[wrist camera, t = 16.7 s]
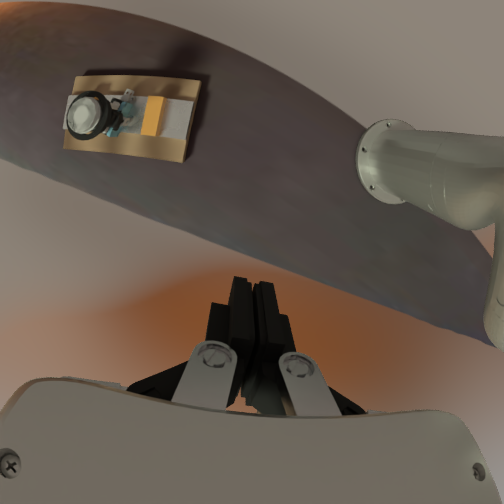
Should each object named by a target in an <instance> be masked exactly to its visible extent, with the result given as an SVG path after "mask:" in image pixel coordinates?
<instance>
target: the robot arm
mask: <svg viewBox="0 0 504 504" xmlns="http://www.w3.org/2000/svg"><path fill="white" fill-rule="evenodd" d="M386 124H387V126H386ZM362 147H363V149H364V150H363V151H362ZM356 168H357V173H358V176H359V178H360V181H361V183H362V184H363V186H364V188H365V189H366V190H367V191H368V192H369V194H370V195H372V196H373V197H375V198H376V199H378V200H380V201H382V202H385V203H388V204H401V203H404V202H409V203H411V204H413V205H415V206H417V207H419V208H421V209H423V210H425V211H427V212H429V213H431V214H433V215H435V216H437V217H439V218H441V219H443V220H445V221H447V222H448V223H450V224H452V225H454V226H456V227H458V228H461V229H465V230H478V229H482V228H485V227H487V226H489V225H491V224H493V223H495V242H494V255H493V261H492V268H491V273H490V279H489V284H488V289H487V294H486V299H485V305H484V326H485V330H486V332H487V335H488V337H489V339H490V340H491V341H492V342H493V344H494V345H495V346H496V347H497V348H499V349H500V350H501V351H503V352H504V137H497V136H484V135H472V134H463V133H452V132H439V131H420V130H415V129H414V128H413V127H412V126H411V125H409V124H408V123H406V122H403V121H401V120H396V119H386V120H381V121H378V122H376V123H374V124H373V125H371V126H370V127H369V128H368V129H367V130H366V131H365V132H364V134H363V135H362V137H361V139H360V141H359V143H358V147H357V151H356ZM370 186H371V188H370ZM240 387H241V397H245V398H246V405H247V406H253V407H254V408H255V409H257V413H245V412H236V411H227V410H225V409H226V408H227V407H228V406H230V405H232V404H233V403H234V401H235V398H236V397H237V396H238V393H239V390H240ZM0 504H502V502H501V498H500V496H499V492H498V490H497V487H496V485H495V482H494V480H493V478H492V475H491V472H490V470H489V468H488V466H487V463H486V461H485V459H484V457H483V455H482V453H481V451H480V449H479V447H478V445H477V443H476V441H475V439H474V438H473V436H472V434H471V433H470V431H469V429H468V428H467V427H466V425H465V424H464V422H463V421H462V420H461V419H460V418H459V417H457V416H455V415H453V414H451V413H448V412H443V411H439V410H412V411H399V412H381V411H373V410H368V411H367V412H365V411H364V410H363V409H362V408H361V407H360V406H358V405H357V404H355V403H354V402H352V401H350V400H349V399H347V398H346V397H344V396H342V395H341V394H340V393H338V392H336V391H335V390H333V389H332V388H331V387H329V386H327V383H326V381H325V379H324V377H323V375H322V373H321V371H320V369H319V367H318V365H317V364H316V362H315V361H314V360H313V359H312V358H311V357H309V356H307V355H305V354H302V353H299V352H296V348H295V345H294V340H293V336H292V332H291V327H290V323H289V319H288V316H287V315H284V314H279V309H278V304H277V299H276V294H275V290H274V285H273V283H269V282H264V281H260V282H259V284H256V283H255V284H254V287H253V291H252V284H251V283H250V282H247V278H242V277H236V276H234V279H233V283H232V288H231V292H230V297H229V301H228V305H223V304H218V303H213V302H212V303H211V309H210V314H209V320H208V326H207V332H206V339H205V341H204V342H201V343H199V344H198V345H196V347H195V348H194V350H193V352H192V354H191V356H190V359H189V360H188V361H186V362H184V363H182V364H179V365H177V366H175V367H172V368H170V369H167V370H165V371H163V372H160V373H158V374H155V375H153V376H150V377H148V378H145V379H143V380H140V381H138V382H135V383H133V384H132V385H130V386H129V387H122V386H121V385H120V383H113V382H103V381H96V380H89V379H82V378H75V377H61V378H57V377H56V378H54V377H46V378H37V379H33V380H30V381H28V382H26V383H24V384H23V385H22V386H21V387H19V388H18V389H17V390H16V391H15V392H14V394H13V395H12V396H11V397H10V399H9V400H8V401H7V403H6V404H5V405H4V407H3V409H2V410H1V411H0Z"/></svg>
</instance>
